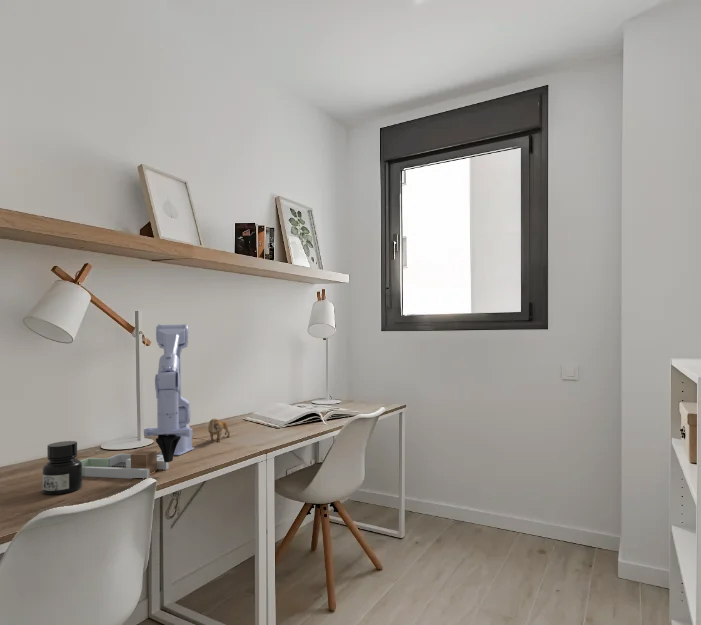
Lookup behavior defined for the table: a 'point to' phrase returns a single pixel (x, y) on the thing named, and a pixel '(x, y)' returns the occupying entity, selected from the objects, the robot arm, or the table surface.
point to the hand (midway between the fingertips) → (168, 461)
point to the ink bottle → (62, 469)
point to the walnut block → (144, 460)
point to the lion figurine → (217, 428)
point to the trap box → (103, 469)
